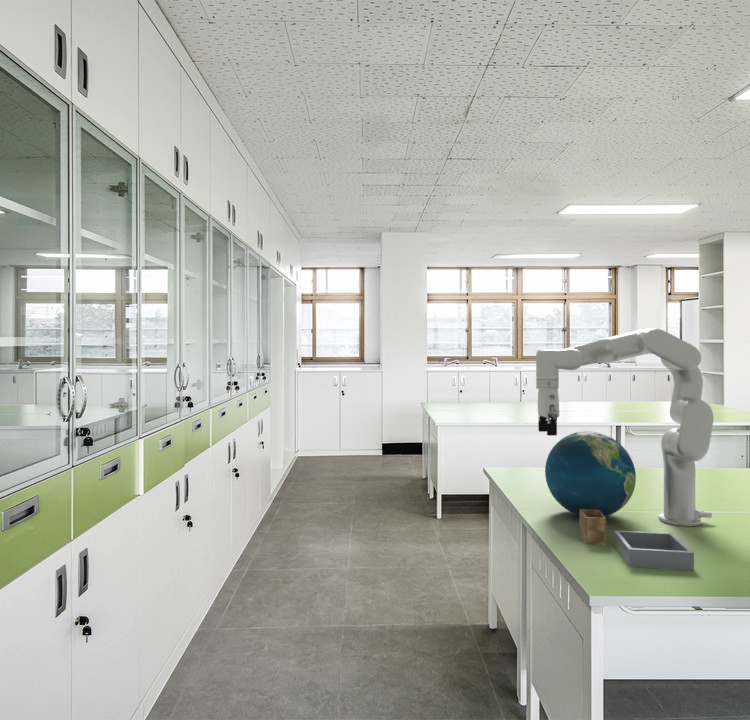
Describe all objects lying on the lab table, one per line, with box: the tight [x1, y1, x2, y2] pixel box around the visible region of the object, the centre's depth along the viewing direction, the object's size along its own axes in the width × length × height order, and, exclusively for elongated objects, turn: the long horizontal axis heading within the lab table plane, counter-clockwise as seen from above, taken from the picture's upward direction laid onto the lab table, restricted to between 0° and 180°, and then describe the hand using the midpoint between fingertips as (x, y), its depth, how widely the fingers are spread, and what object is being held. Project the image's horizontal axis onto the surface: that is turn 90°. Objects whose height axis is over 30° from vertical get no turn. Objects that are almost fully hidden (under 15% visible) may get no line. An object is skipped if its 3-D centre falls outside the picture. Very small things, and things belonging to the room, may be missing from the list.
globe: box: [544, 430, 637, 517], centre depth 190 cm, size 30×30×30 cm
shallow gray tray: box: [613, 529, 695, 571], centre depth 151 cm, size 16×16×5 cm
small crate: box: [579, 509, 607, 546], centre depth 166 cm, size 6×9×8 cm, turn 170°
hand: (547, 433), depth 189 cm, fingers open, 9 cm apart
